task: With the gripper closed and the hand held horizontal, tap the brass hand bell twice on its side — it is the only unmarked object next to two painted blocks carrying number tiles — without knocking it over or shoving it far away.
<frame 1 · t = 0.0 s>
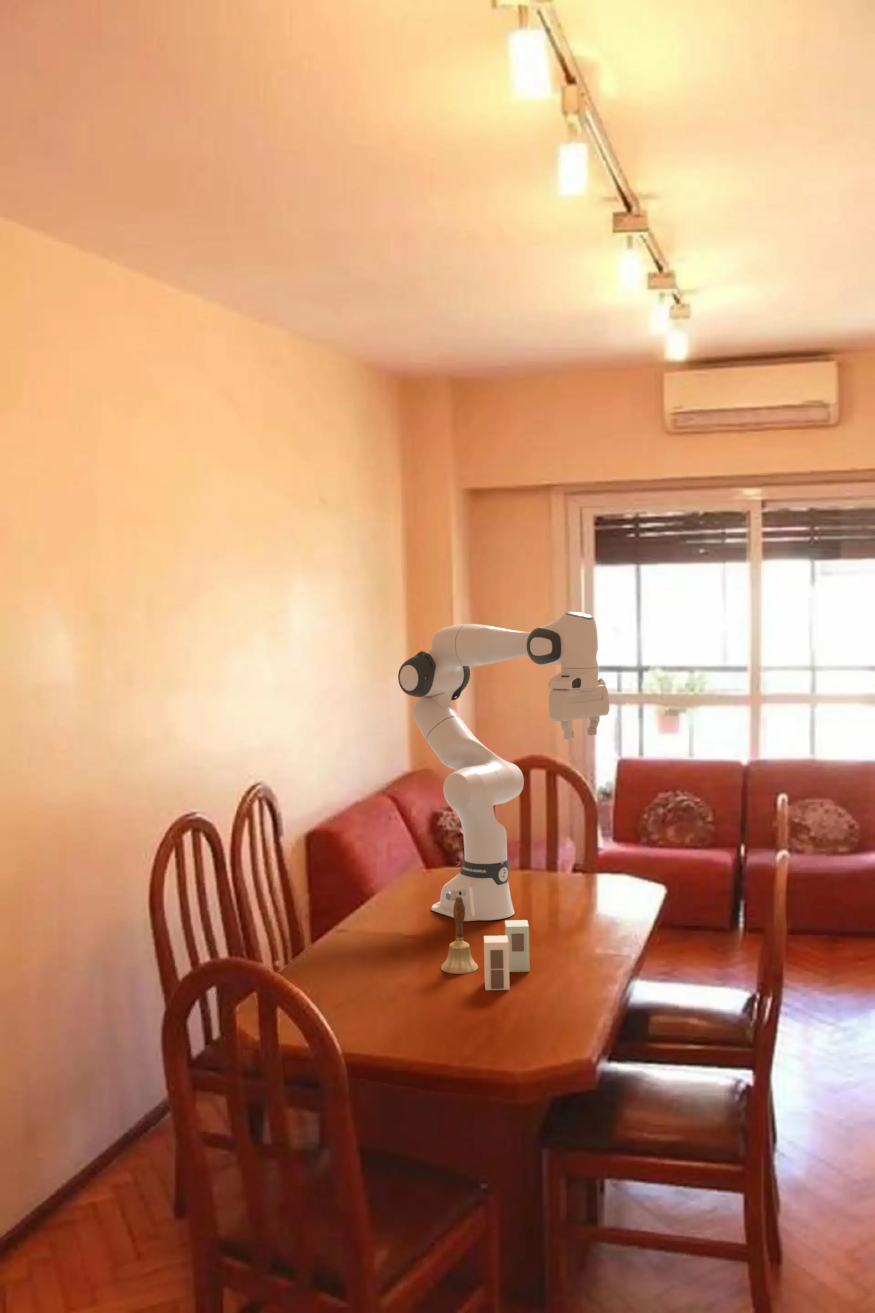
hand: (580, 737, 274), 48 cm above the table, tool pointing down, fingers open, 8 cm apart
cream block marked: (496, 986, 240), on the table
hand bell: (459, 969, 252), on the table
sage block marked: (517, 968, 252), on the table
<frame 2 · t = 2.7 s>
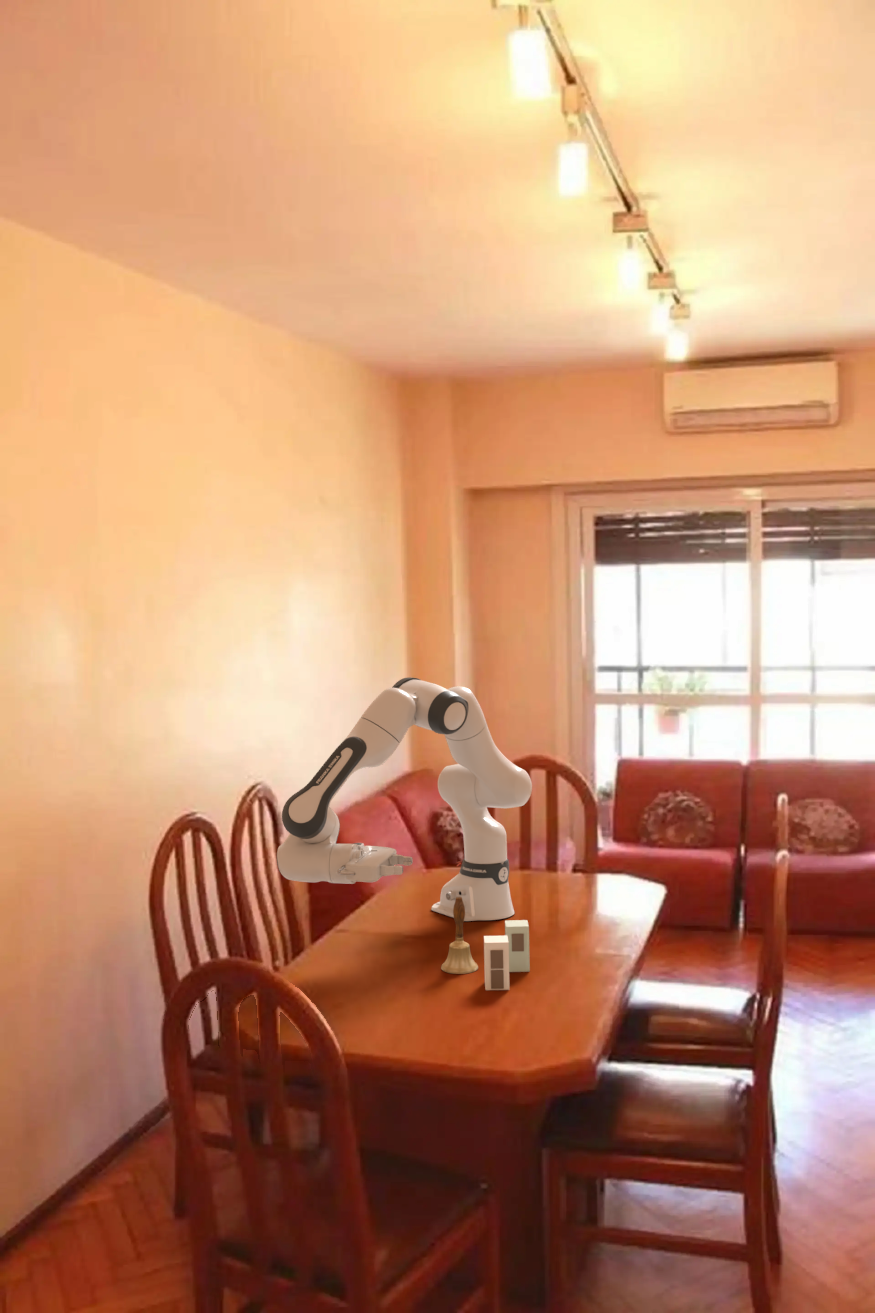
hand: (407, 865, 254), 23 cm above the table, tool horizontal, fingers open, 8 cm apart
nothing on the table moved.
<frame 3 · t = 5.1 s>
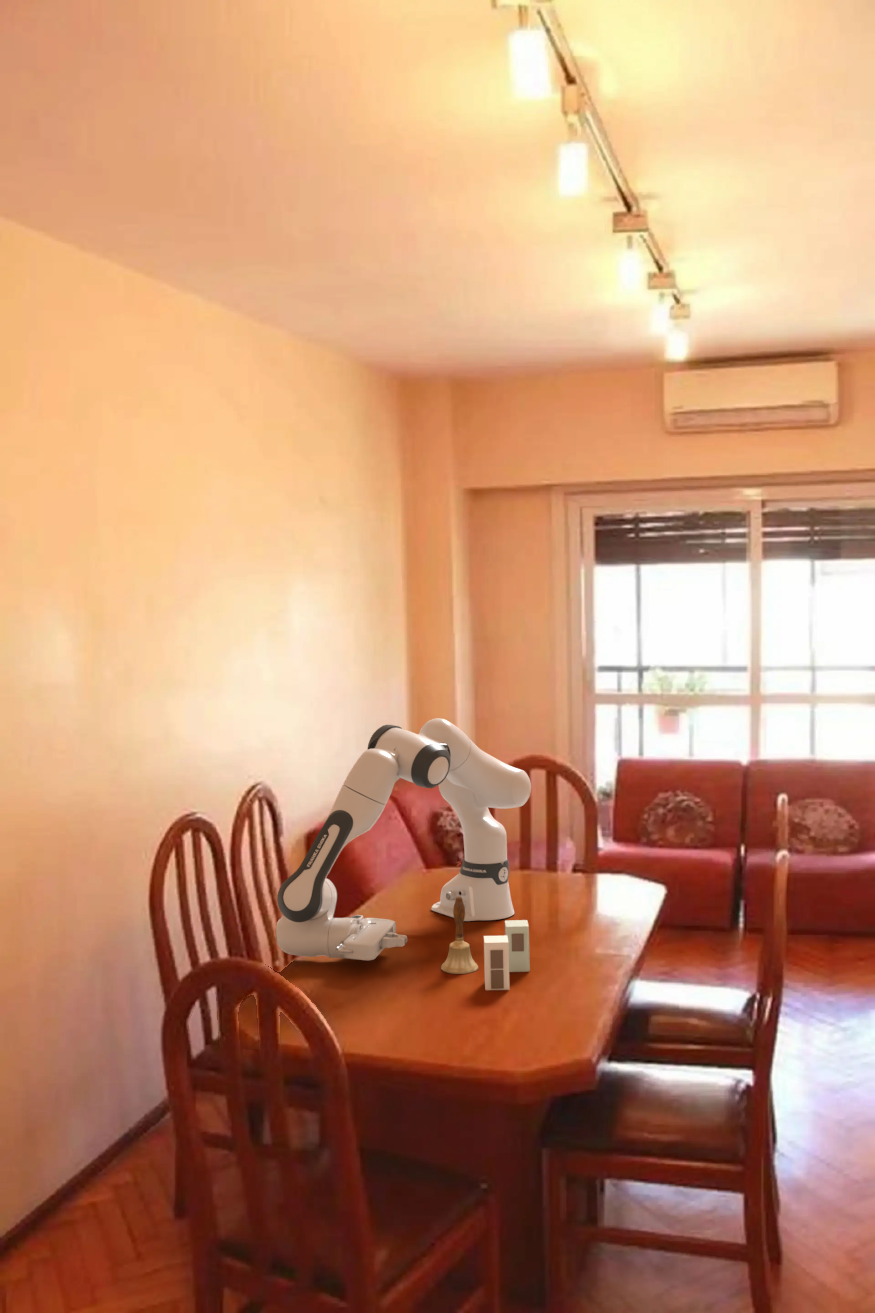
hand: (405, 941, 255), 6 cm above the table, tool horizontal, fingers closed
nothing on the table moved.
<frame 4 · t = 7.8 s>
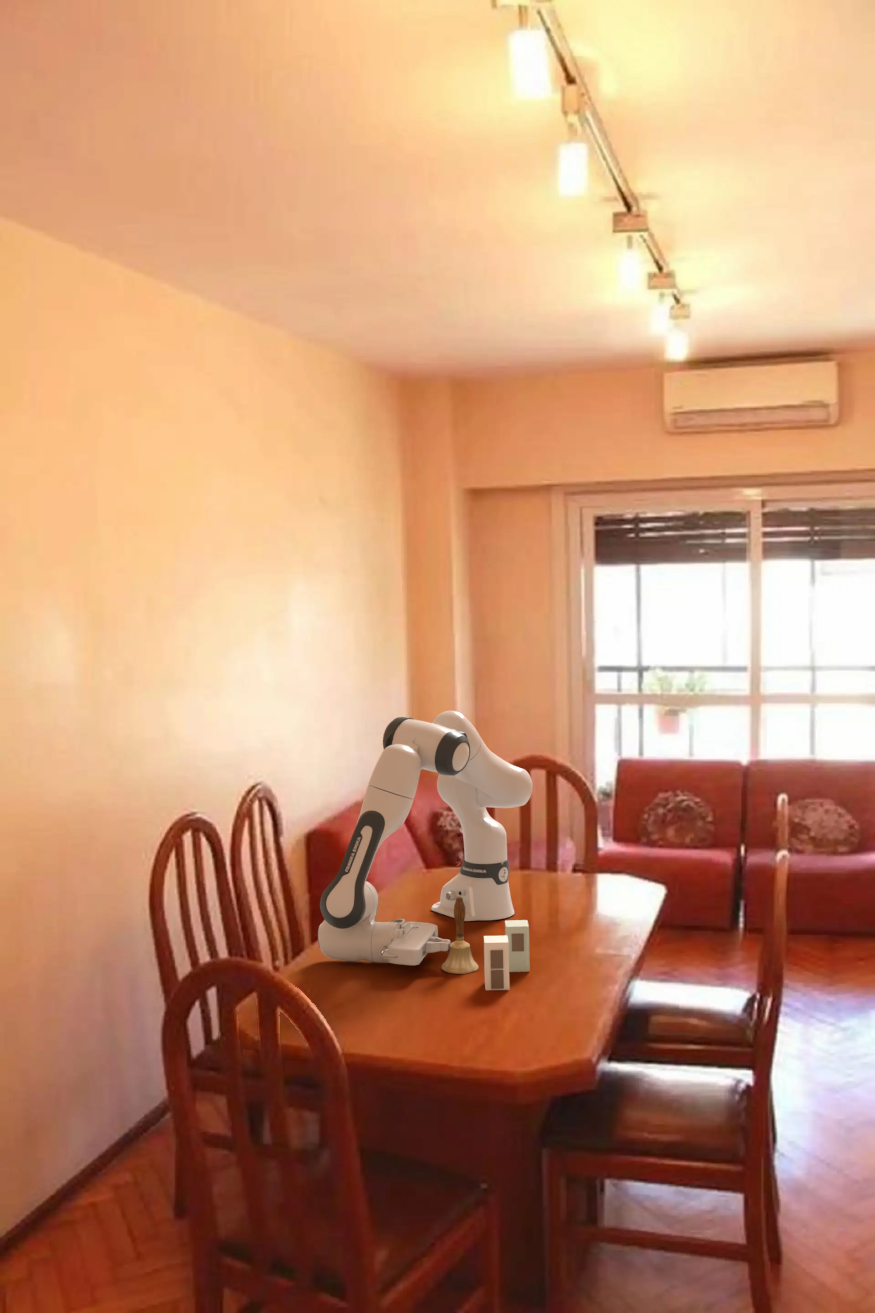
hand: (449, 945, 253), 5 cm above the table, tool horizontal, fingers closed, pressing on hand bell
hand bell: (460, 969, 252), on the table, touching gripper
everything else where it was.
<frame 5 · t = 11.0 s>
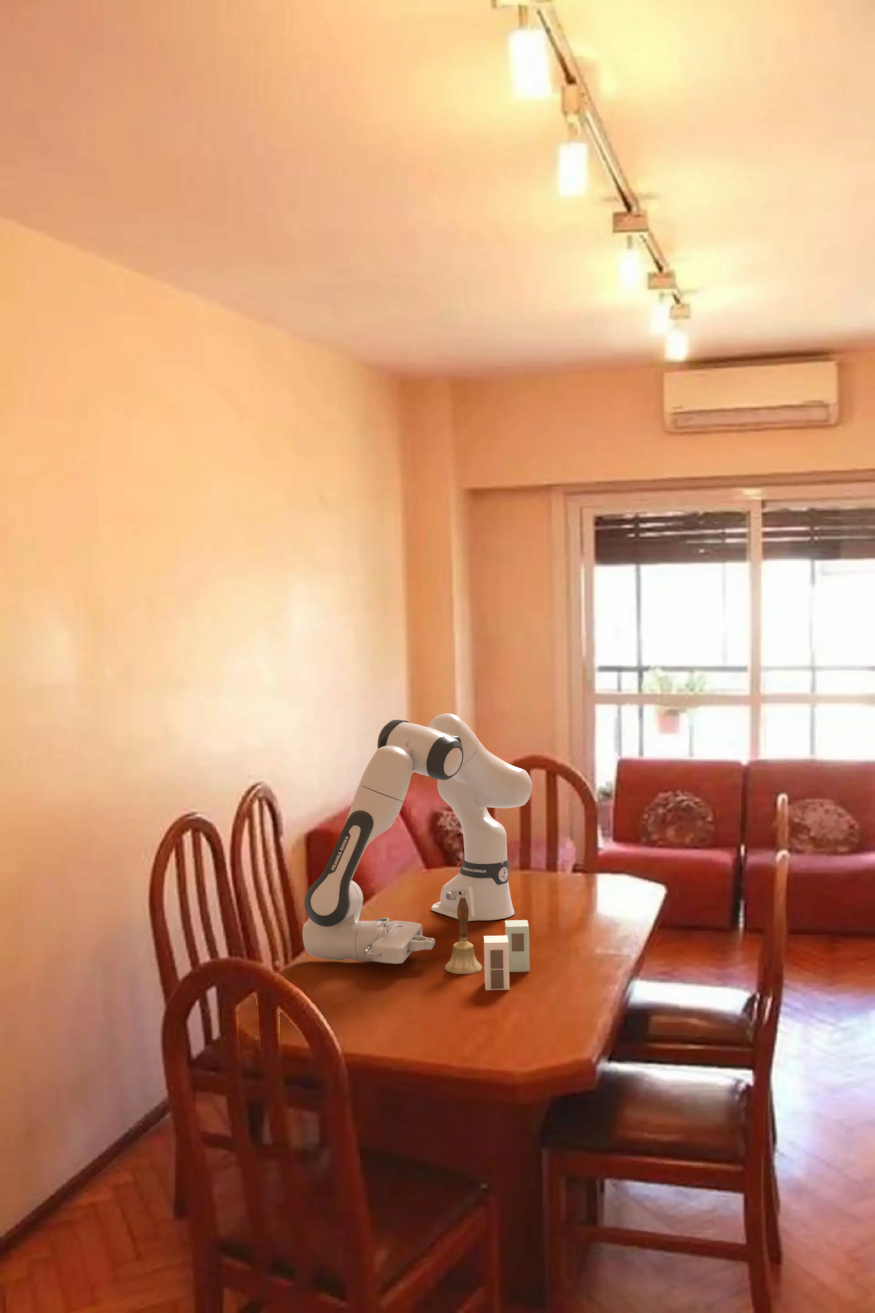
hand: (433, 944, 253), 5 cm above the table, tool horizontal, fingers closed
hand bell: (463, 969, 252), on the table
everything else where it was.
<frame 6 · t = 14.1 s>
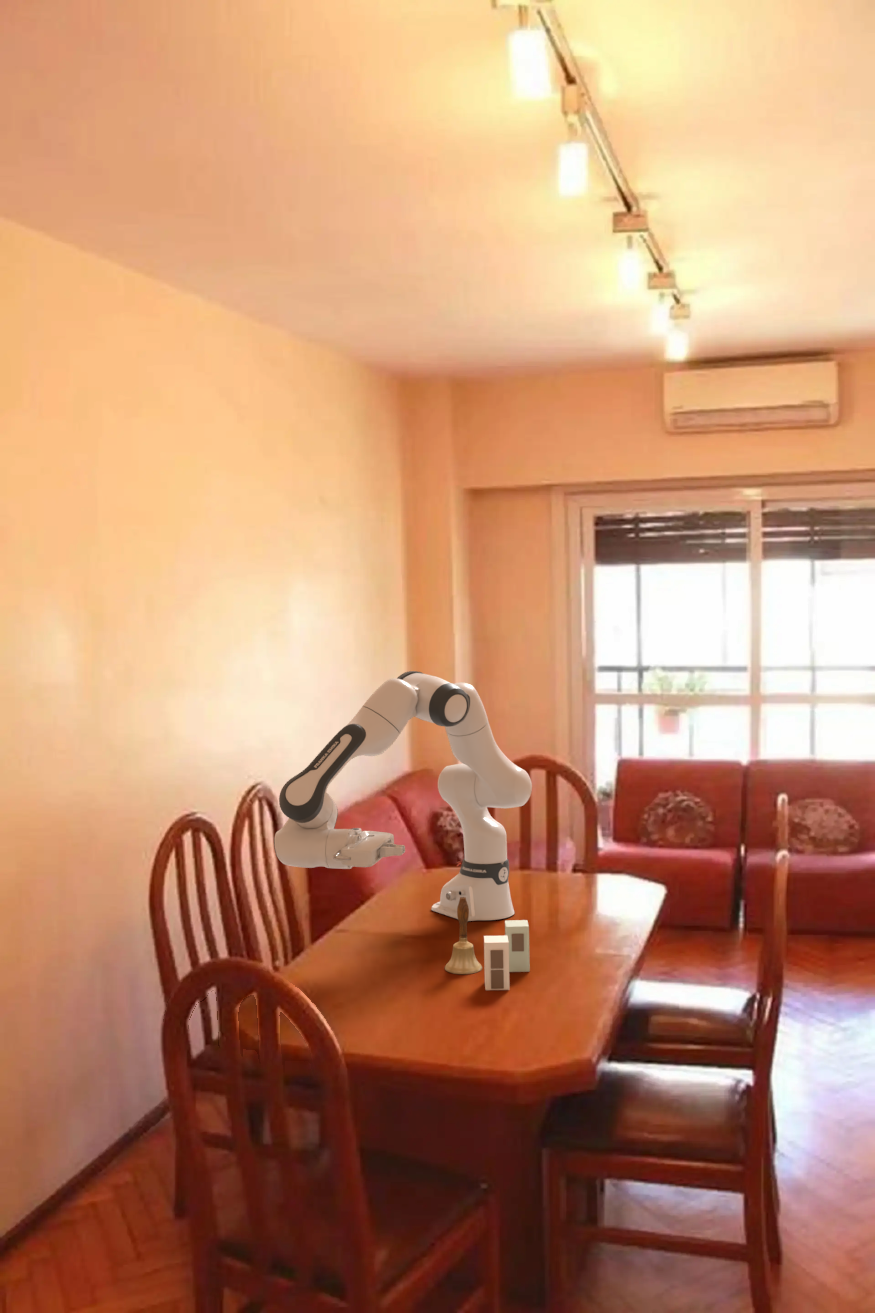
hand: (403, 850, 254), 26 cm above the table, tool horizontal, fingers closed
nothing on the table moved.
at the end: hand bell moved 0.9 cm from its start; hand bell tilted 0°; the gripper is holding nothing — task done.
